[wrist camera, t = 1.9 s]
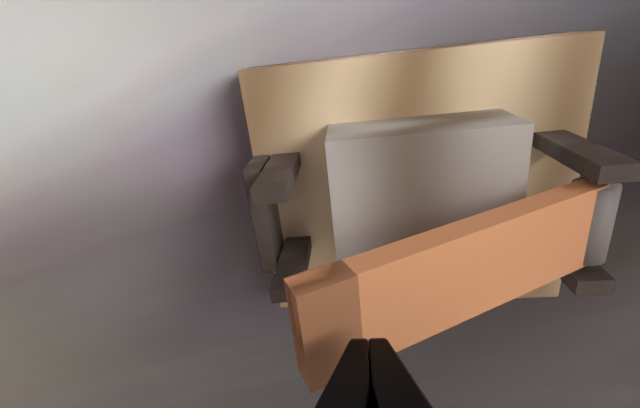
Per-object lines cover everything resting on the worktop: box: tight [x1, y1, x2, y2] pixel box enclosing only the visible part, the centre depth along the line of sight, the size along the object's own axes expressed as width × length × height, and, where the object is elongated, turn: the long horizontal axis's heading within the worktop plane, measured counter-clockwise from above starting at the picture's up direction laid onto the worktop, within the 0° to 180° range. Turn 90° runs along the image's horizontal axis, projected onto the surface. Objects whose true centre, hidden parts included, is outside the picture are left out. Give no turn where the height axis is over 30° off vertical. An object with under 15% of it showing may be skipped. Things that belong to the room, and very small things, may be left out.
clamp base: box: [237, 31, 640, 308], centre depth 16 cm, size 14×12×6 cm
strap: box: [283, 177, 623, 393], centre depth 11 cm, size 12×3×1 cm, turn 97°
